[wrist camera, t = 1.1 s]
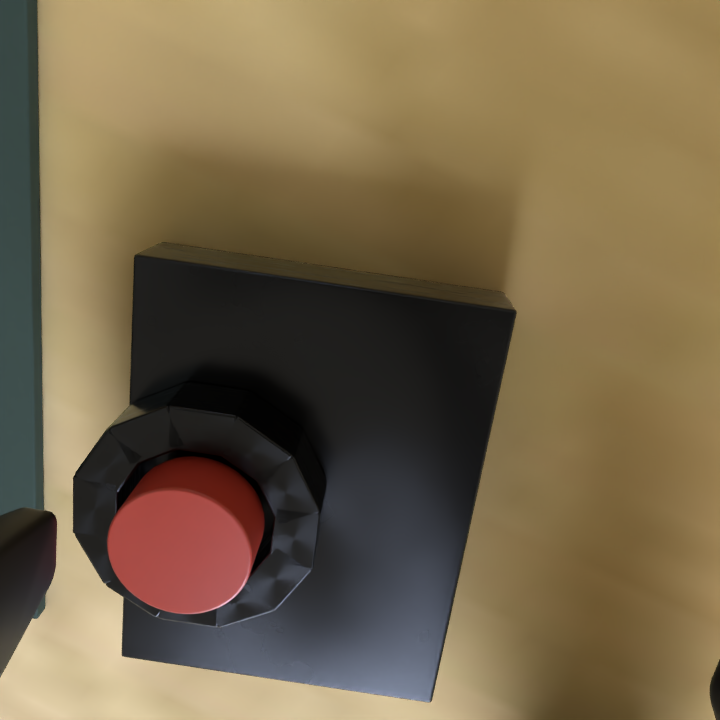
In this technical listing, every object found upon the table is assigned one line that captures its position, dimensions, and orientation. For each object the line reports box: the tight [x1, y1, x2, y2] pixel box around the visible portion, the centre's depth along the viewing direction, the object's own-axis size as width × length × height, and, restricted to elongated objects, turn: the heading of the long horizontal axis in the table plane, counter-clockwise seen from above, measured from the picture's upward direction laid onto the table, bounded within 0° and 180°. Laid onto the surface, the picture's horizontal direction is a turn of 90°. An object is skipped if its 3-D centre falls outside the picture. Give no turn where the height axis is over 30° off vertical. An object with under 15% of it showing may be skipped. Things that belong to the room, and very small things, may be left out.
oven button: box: [107, 456, 265, 614], centre depth 17 cm, size 4×4×2 cm
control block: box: [73, 242, 517, 702], centre depth 20 cm, size 13×11×4 cm
